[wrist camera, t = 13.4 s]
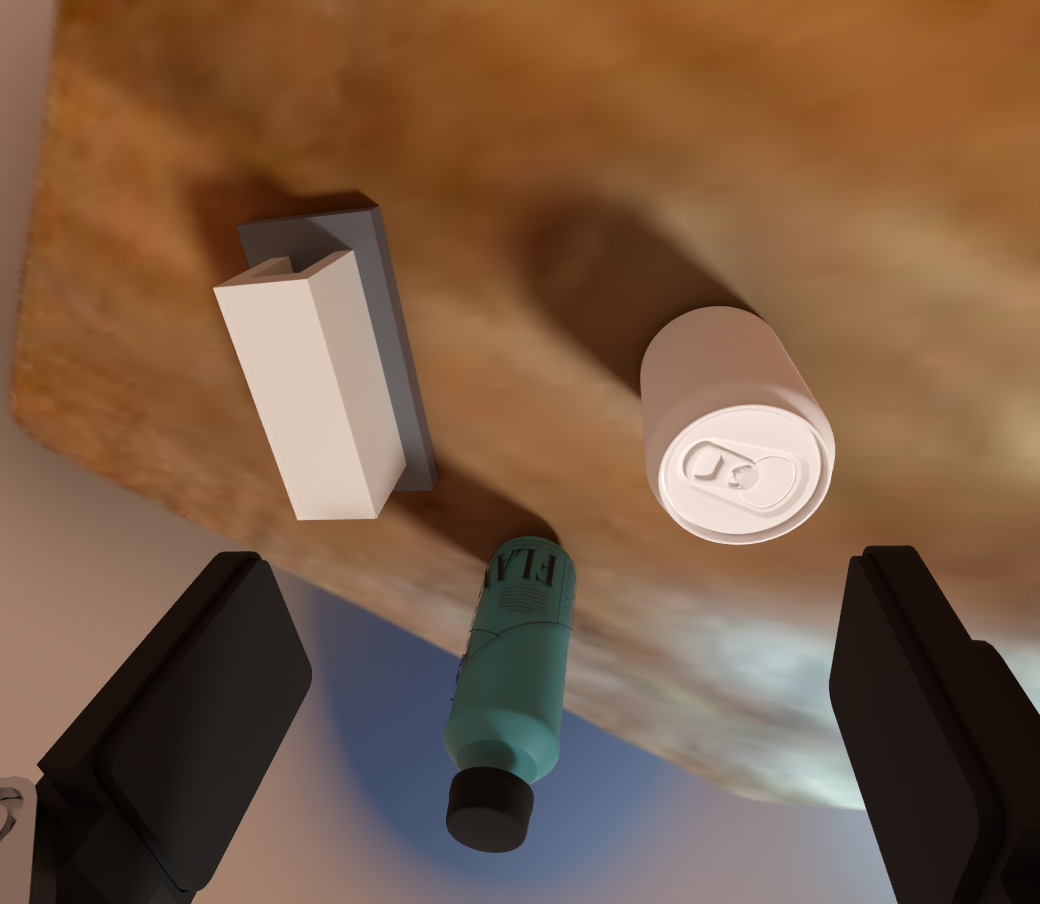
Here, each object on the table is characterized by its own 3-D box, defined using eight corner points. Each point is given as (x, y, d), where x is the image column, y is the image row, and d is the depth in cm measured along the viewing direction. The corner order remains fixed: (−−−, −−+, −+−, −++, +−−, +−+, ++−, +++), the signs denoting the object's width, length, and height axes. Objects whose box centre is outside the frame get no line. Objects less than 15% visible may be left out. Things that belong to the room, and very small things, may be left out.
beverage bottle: (574, 517, 44) (543, 794, 27) (584, 589, 47) (563, 877, 30) (483, 521, 45) (400, 788, 28) (499, 591, 49) (433, 869, 32)
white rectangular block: (271, 258, 36) (213, 287, 31) (353, 249, 35) (307, 278, 30) (336, 467, 43) (297, 520, 38) (406, 464, 42) (376, 518, 37)
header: (249, 220, 37) (194, 241, 32) (379, 205, 35) (341, 225, 30) (332, 481, 45) (298, 528, 41) (439, 478, 44) (417, 526, 39)
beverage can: (744, 445, 39) (787, 573, 29) (620, 407, 39) (620, 523, 29) (808, 326, 35) (884, 427, 25) (670, 284, 35) (690, 368, 25)
